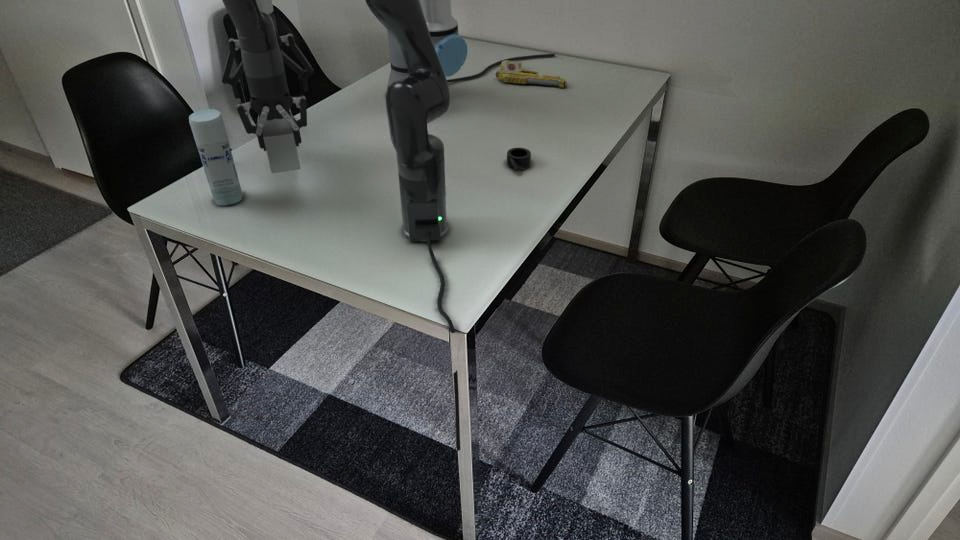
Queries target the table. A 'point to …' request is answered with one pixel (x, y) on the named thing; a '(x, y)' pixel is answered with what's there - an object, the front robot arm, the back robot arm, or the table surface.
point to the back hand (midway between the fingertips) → (275, 107)
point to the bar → (280, 146)
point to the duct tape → (518, 158)
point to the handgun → (526, 75)
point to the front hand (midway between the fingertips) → (281, 146)
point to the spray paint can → (216, 156)
